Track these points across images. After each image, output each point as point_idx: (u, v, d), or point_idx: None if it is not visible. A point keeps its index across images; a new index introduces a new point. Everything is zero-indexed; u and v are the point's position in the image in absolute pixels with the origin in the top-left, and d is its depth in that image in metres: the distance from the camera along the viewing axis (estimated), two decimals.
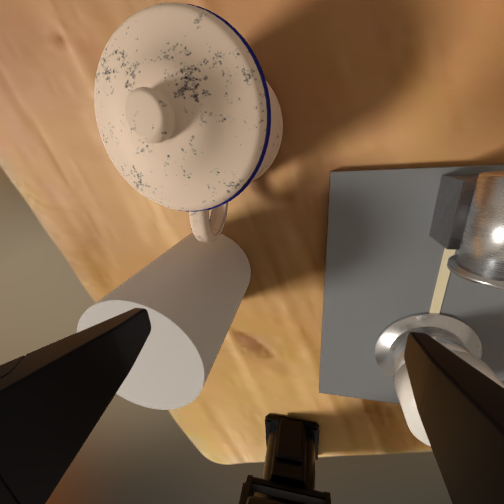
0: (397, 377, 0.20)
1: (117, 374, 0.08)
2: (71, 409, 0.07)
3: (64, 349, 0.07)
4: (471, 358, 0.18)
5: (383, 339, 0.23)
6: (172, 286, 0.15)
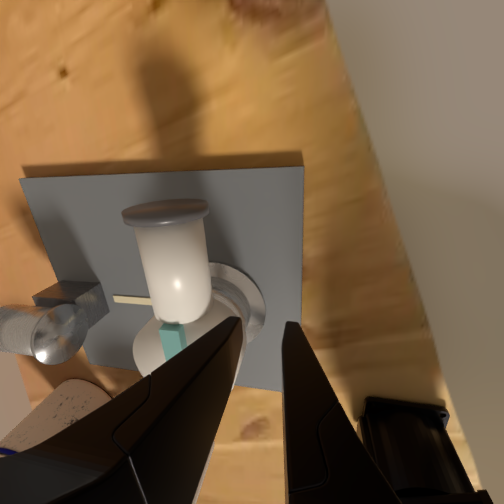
0: None
1: (225, 391, 0.07)
2: (197, 434, 0.06)
3: (189, 366, 0.06)
4: None
5: None
6: None
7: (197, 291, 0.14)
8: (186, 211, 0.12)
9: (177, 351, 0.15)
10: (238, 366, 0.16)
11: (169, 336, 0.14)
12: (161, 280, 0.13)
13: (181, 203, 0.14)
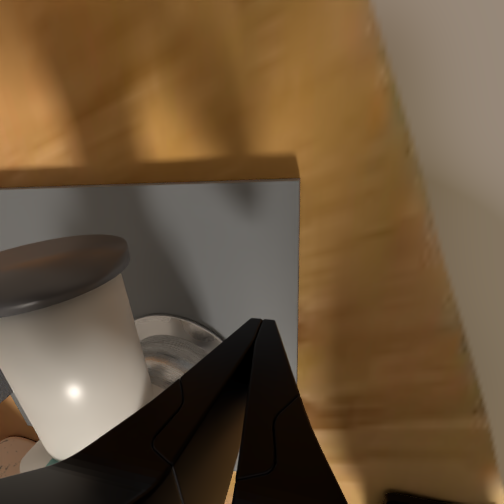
0: None
1: None
2: (228, 440, 0.06)
3: (219, 370, 0.06)
4: None
5: None
6: None
7: (107, 407, 0.08)
8: (55, 281, 0.06)
9: None
10: None
11: None
12: (27, 400, 0.07)
13: (78, 250, 0.08)
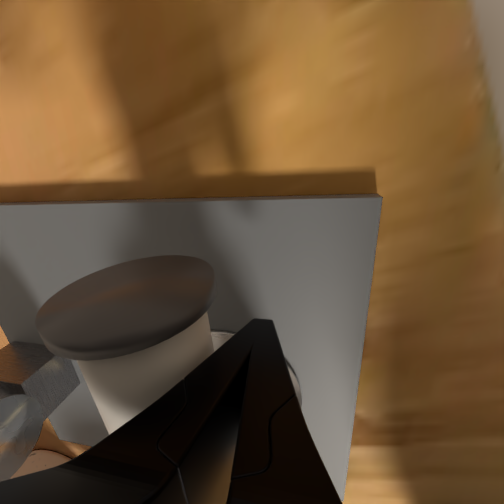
0: None
1: None
2: (232, 440, 0.06)
3: (223, 371, 0.06)
4: None
5: None
6: None
7: None
8: (169, 314, 0.06)
9: None
10: None
11: None
12: None
13: (164, 274, 0.08)
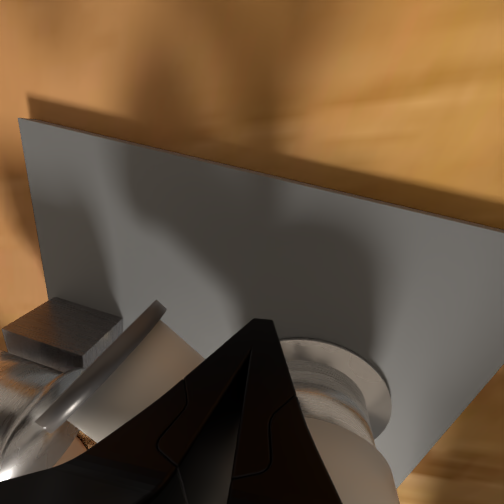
0: None
1: None
2: (231, 440, 0.06)
3: (222, 370, 0.06)
4: None
5: None
6: None
7: None
8: (101, 355, 0.06)
9: None
10: None
11: None
12: None
13: None
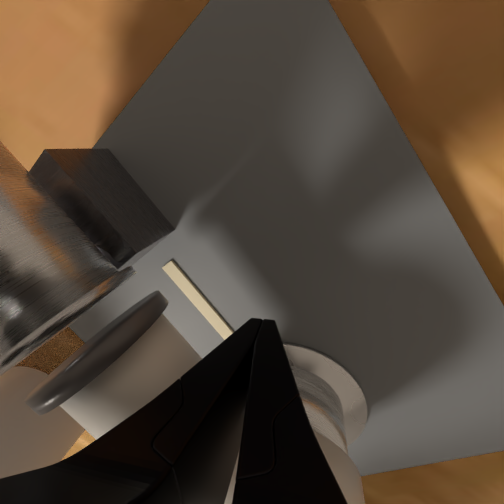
0: None
1: None
2: (228, 440, 0.06)
3: (219, 370, 0.06)
4: None
5: None
6: None
7: None
8: (103, 343, 0.06)
9: None
10: None
11: None
12: None
13: (124, 316, 0.09)
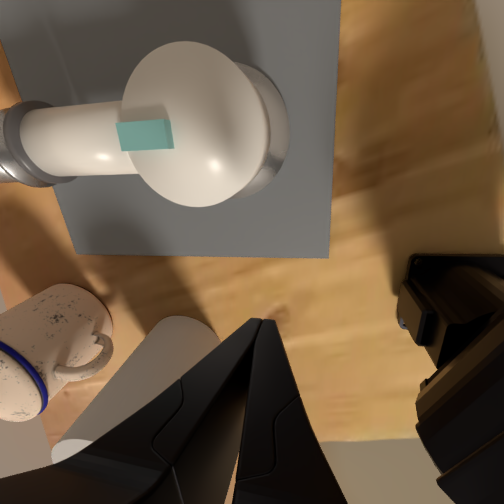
0: (269, 141, 0.14)
1: None
2: (228, 440, 0.06)
3: (219, 370, 0.06)
4: None
5: None
6: None
7: (92, 106, 0.13)
8: None
9: (144, 128, 0.11)
10: None
11: (126, 137, 0.12)
12: (69, 140, 0.13)
13: None
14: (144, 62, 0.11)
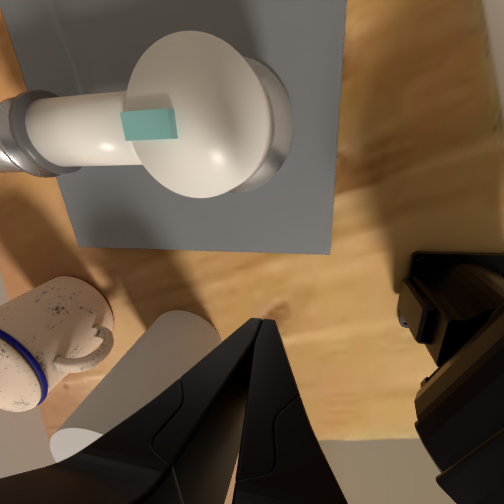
0: (272, 134, 0.14)
1: None
2: (228, 440, 0.06)
3: (219, 370, 0.06)
4: None
5: None
6: None
7: (97, 96, 0.13)
8: None
9: (148, 117, 0.11)
10: None
11: (130, 126, 0.12)
12: (74, 129, 0.13)
13: None
14: (149, 51, 0.11)
